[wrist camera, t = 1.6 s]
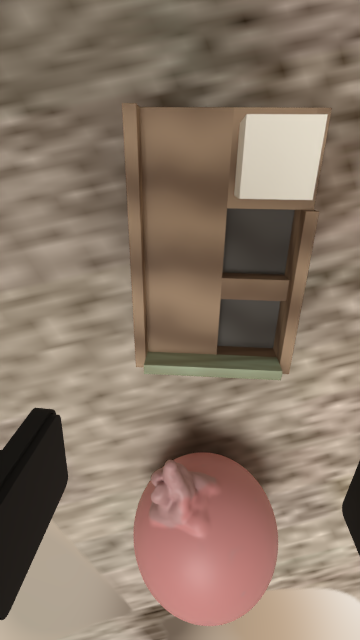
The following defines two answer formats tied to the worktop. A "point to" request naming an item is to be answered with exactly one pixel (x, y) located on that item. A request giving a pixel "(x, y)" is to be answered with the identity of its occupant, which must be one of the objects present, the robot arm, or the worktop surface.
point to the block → (279, 156)
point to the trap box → (210, 248)
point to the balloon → (205, 538)
